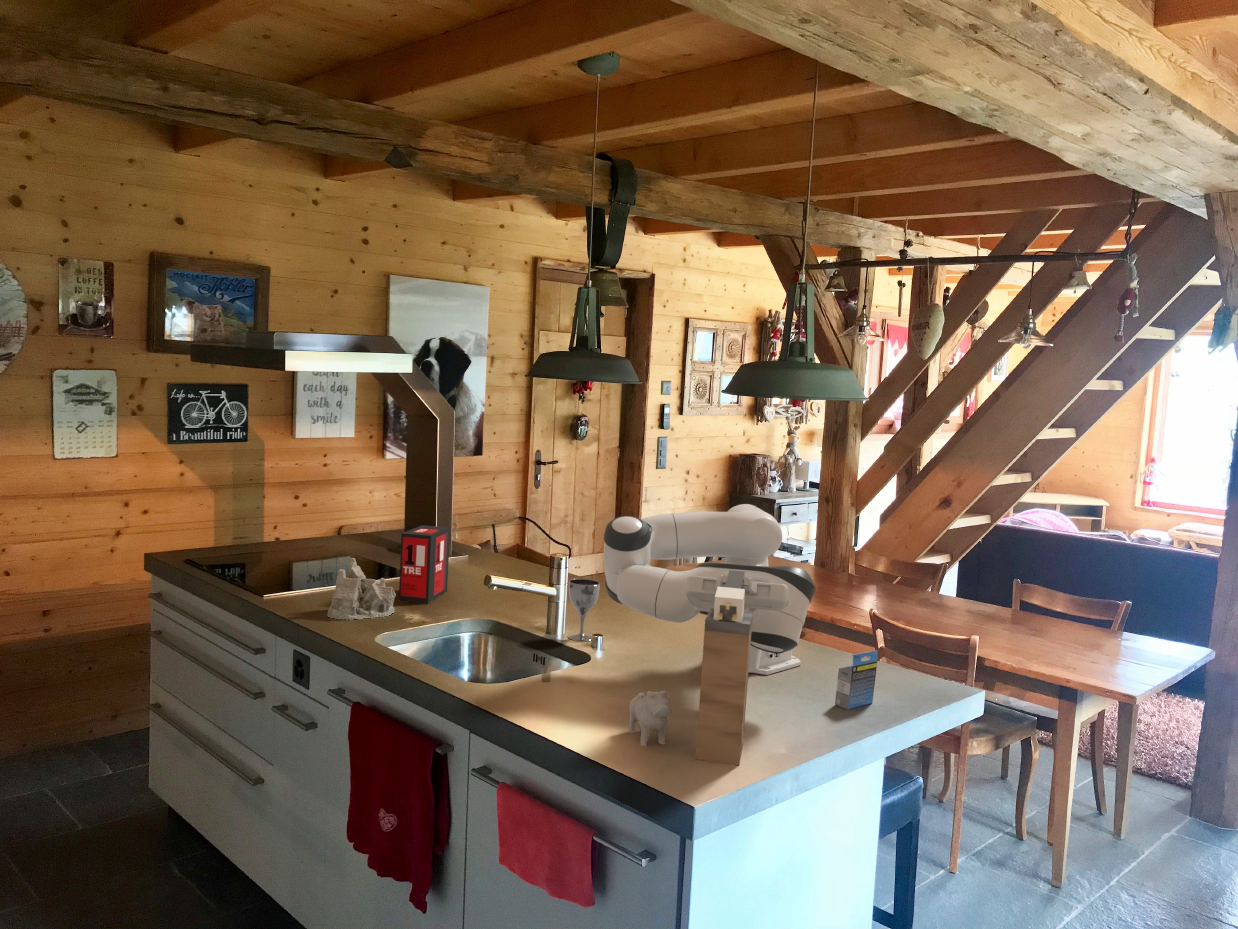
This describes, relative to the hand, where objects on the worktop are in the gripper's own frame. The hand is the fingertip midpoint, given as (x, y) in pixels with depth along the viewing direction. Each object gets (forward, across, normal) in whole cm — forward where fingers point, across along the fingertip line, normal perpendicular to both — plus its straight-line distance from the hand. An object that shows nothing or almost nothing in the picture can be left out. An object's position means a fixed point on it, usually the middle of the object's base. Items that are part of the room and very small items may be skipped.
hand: (735, 580), depth 184 cm
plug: (+3, 0, -6) cm, 6 cm away
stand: (-6, 0, -32) cm, 32 cm away
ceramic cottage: (-62, +104, +1) cm, 121 cm away
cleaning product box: (-85, +97, +14) cm, 130 cm away
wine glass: (-64, +43, +1) cm, 77 cm away
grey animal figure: (-9, +14, -31) cm, 35 cm away
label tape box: (-40, -26, -13) cm, 50 cm away
